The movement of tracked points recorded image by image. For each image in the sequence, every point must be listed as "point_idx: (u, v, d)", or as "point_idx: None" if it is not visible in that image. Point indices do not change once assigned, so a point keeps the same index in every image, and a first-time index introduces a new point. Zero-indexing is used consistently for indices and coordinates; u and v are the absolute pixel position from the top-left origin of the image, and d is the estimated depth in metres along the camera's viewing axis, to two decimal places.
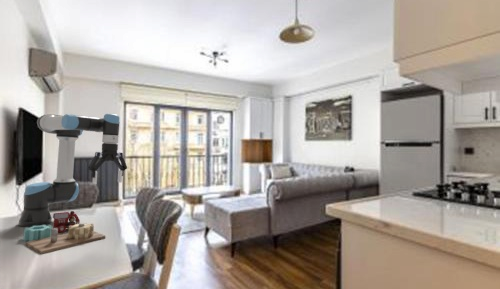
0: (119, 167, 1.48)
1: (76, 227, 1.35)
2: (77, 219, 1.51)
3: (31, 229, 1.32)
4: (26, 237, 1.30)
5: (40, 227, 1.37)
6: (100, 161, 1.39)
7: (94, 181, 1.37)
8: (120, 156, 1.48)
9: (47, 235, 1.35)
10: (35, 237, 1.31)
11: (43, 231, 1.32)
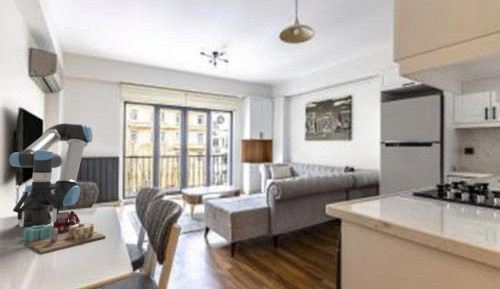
0: (53, 205, 1.40)
1: (76, 227, 1.35)
2: (77, 219, 1.51)
3: (31, 229, 1.32)
4: (26, 237, 1.30)
5: (40, 227, 1.37)
6: (28, 201, 1.30)
7: (20, 223, 1.28)
8: (54, 193, 1.39)
9: (47, 235, 1.35)
10: (35, 237, 1.31)
11: (43, 231, 1.32)
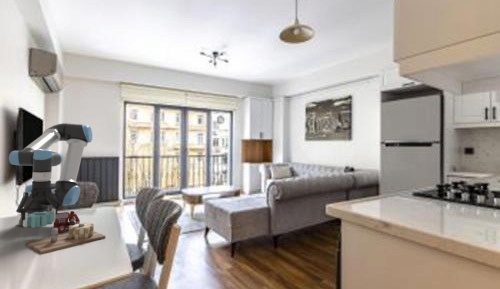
0: (52, 205, 1.40)
1: (76, 227, 1.35)
2: (77, 219, 1.51)
3: (33, 215, 1.33)
4: (28, 223, 1.31)
5: (41, 213, 1.38)
6: (30, 201, 1.31)
7: (24, 223, 1.30)
8: (54, 193, 1.40)
9: (49, 221, 1.36)
10: (37, 223, 1.32)
11: (45, 217, 1.33)
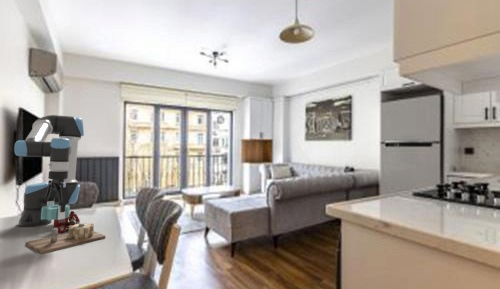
0: None
1: (76, 227, 1.35)
2: (77, 219, 1.51)
3: (51, 205, 1.29)
4: None
5: None
6: None
7: None
8: None
9: None
10: None
11: (42, 209, 1.23)
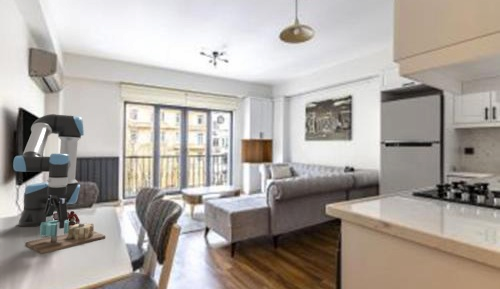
0: None
1: (76, 227, 1.35)
2: (77, 219, 1.51)
3: (50, 221, 1.29)
4: None
5: None
6: None
7: None
8: None
9: None
10: None
11: (41, 226, 1.23)
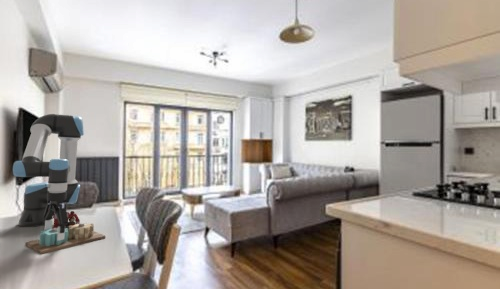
0: None
1: (76, 227, 1.35)
2: (77, 219, 1.51)
3: (50, 230, 1.29)
4: None
5: None
6: None
7: None
8: None
9: None
10: None
11: (40, 235, 1.23)
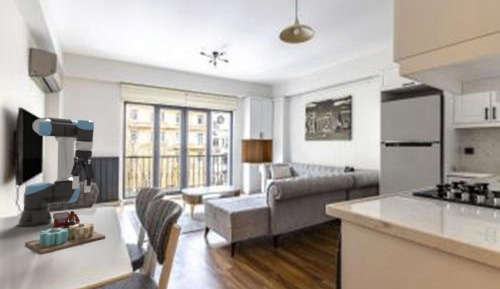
0: None
1: (76, 227, 1.35)
2: (77, 219, 1.51)
3: (50, 230, 1.29)
4: None
5: None
6: None
7: None
8: None
9: None
10: None
11: (40, 235, 1.23)
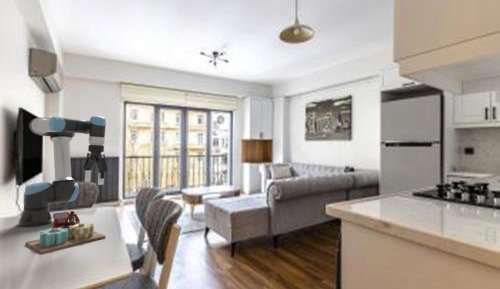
0: None
1: (76, 227, 1.35)
2: (77, 219, 1.51)
3: (50, 230, 1.29)
4: None
5: None
6: None
7: None
8: None
9: None
10: None
11: (40, 235, 1.23)
